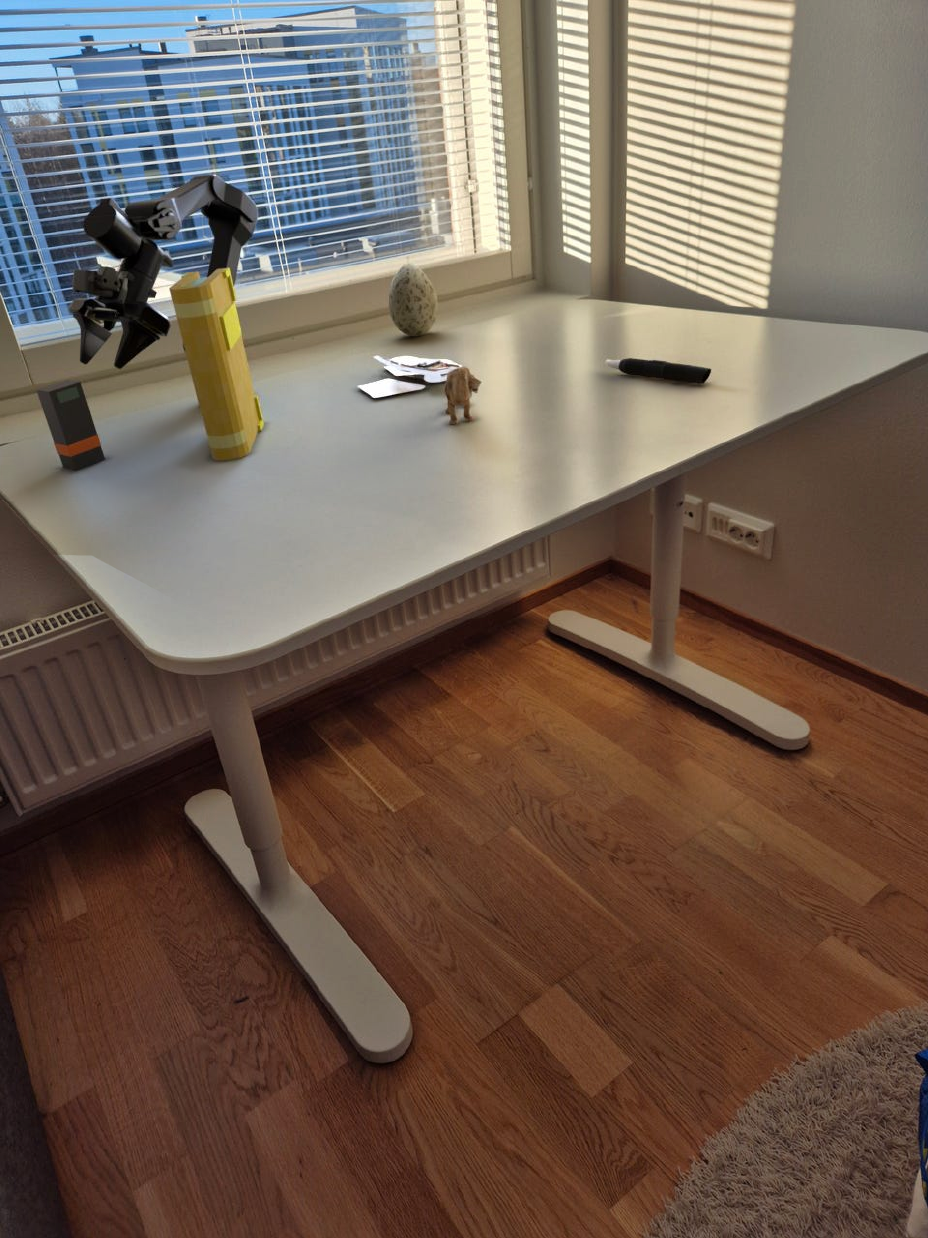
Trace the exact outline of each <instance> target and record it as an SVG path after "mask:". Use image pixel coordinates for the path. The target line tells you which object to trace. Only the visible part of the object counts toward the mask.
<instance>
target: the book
mask: <svg viewBox="0 0 928 1238" xmlns="http://www.w3.org/2000/svg"><path fill="white" fill-rule="evenodd" d="M180 277H181V278H179V280H178V281H176V282H175V283H174V284H173V285H172V286H170V287H169V289H168V290H169V293H170V298H171V300H172V305H173V309H174V312H175V316H176V320H177V324H178V328H179V332H180V337H181V340H182V345H183V344H184V348H185V351H184V353H185V352H186V353H185V355H186V360H187V363H188V367H189V371H190V375H191V379H192V383H193V386H194V391H195V395H196V398H197V402H198V406H199V411H200V415H201V418H202V421H203V425H204V426H203V427H204V430H205V433H206V437H207V441H208V444H209V445H208V446H209V449H210V453H211V456H212V459H213V460H216V461H222V462H223V461H225V462H226V461H232V460H233V461H234V460H237V459H241V458H243V457H245V456H248V455H249V454H250V453H251V451H252V448H253V445H254V443H255V441H256V438H257V436H258V434H259V432H262V430H263V428H264V425H265V422H264V418H263V413H262V408H261V404H260V399H259V396H258V395H256V394H255V390H254V385H253V381H252V377H251V373H250V368H249V367H250V366H249V364H248V359H247V353H246V349H245V346H244V340H243V337H242V333H243V332H242V329H241V324H240V319H239V314H238V309H237V306H236V301H237V296H236V292H235V285H234V286H233V282H232V277H231V272H230V268H221V269H217V270H215V271H214V272H213V273H212V274H211V275H210V276H209V277H207V276H206V277H201V275H200V271H198V270H197V271H196V270H195V271H189V272H185V273H184V274H182V275H181V276H180Z"/></svg>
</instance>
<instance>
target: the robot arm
mask: <svg viewBox="0 0 928 1238" xmlns="http://www.w3.org/2000/svg"><path fill="white" fill-rule="evenodd" d="M198 211H200V213H201V215H203V216H204V217H205V218H206V219H207V221H208V222H207V223H208V227H209V229H210V231H211V233H212V236H213V243H212V247H211V253H210V258H209V263H208V268H207V272H206V273H207V274H206V277H209V276H210V275H211V274H212V273H213V272H214V271H215V270H217V269H221V268H230V272H231V277H232V282H233V286H234V287H235V283H236V278H237V273H238V268H239V263H240V257H241V252H242V248H243V247H244V246H245V245H246V243H247V242H248V241H250V239H251V238H252V237H253V235H254V232H255V230H256V225H257V223H258V219H259V209H258V206H257V204H256V203H255V202H254V201H253V200H252V198H251V197H250V196H249V195H247V193H246V192H245V191H244V190H242V189H240V188H238V187H236V186H233V185H231V184H230V183H228V182H226V181H224V180H223V178H222V177H220V176H219V175H216V174H213V173H212V174H203V175H202V174H201V175H195V176H193V177H191V179H190V180H189V181H187V182H185V183H184V184H182V185H180V186H179V187H176V188H175V189H173V190H171V191H169V192H168V193H166V194H164V195H162V196H161V197H159V198H154V199H147V200H141V201H136V202H135V201H134V202H129V203H128V204H127V205H126V206H125V208H124V209H122V208H121V207H120V206H119V205H118V203H117V201H116V200H114V198H113V197H107V198H106V197H105V198H100V199H99V202H98V205H96V206H95V207H93V208H92V209H91V210H90V211H89V212H88V214H87V215H86V217H84V218H83V224H82V225H83V226H82V227H83V231H84V233H85V234H86V235H87V236H88V237H89V238H90V239H91V240H92V241H93V242H94V243H96V244H97V246H99V247H100V248H102V250H104V251H105V252H106V253H107V254H108V255H110V256H111V257H112V258H113V259H114V260H120V261H119V264H118V266H117V269H116V268H114V267H112V266H106V265H100V266H99V267H98V269H97V270H90V269H73V273H72V274H73V275H72V292H74V293H79V294H80V293H83V294H84V293H85V294H88V295H92V296H95V297H94V299H93V298H89V297H78V298H75V299H72V301H71V304H70V306H69V308H68V311H69V313H71V314H72V318H73V319H74V320H76V321H77V323H78V326H79V328H80V345H79V346H80V348H79V362H80V363H81V364H83V365H88V364H89V363H90V361H91V360H92V359H93V358H94V357H95V356H96V354H97V353H98V352H99V351H100V349H101V348H103V346H104V345H105V344H106V343H107V341H108V340H109V339H110V338H111V336H112V335H113V333H112V332H111V331H112V330H113V329H115V327H116V324H117V323H120V325H121V329H122V334H121V336H120V337H121V338H120V341H119V344H118V348H117V351H116V354H115V356H114V357H115V358H114V362H113V366H114V367H115V368H116V369H118V370H121V369H122V368H124V367H125V366H126V365H128V364H129V363H130V362H131V361H132V360H134V359H135V358H136V357H137V356H138V355H139V354H141V353H142V352H143V351H144V350H146V349H147V348H148V347H150V346H151V345H153V344H154V343H155V342H156V341H160V340H161V337H167V336H168V334H169V331H170V328H171V322H170V318H169V317H168V316H167V315H166V314H164V313H163V312H161V310H159V309H157V308H156V307H154V306H153V305H152V304H150V303H149V302H148V300H149V299H156V296H157V293H158V292H157V291H156V290H154V286H155V284H156V280H157V278H158V276H159V273H160V271H161V268H162V266H163V267H167V268H173V267H174V261H173V258H172V257H171V255H170V250H169V248H165V247H160V246H159V245H158V244H157V243H156V242H155V241H169V240H172V239H174V238H175V236H177V234H179V232H180V231H181V230H182V227H183V223H182V222H184V221H185V219H187V218H188V217H190V216H192V215H194V214H195V213H197V212H198ZM102 304H103V305H102ZM182 348H183V351H184V354H186V352H185V348H184V344H183V343H182Z"/></svg>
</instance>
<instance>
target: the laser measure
mask: <svg viewBox="0 0 928 1238" xmlns="http://www.w3.org/2000/svg"><path fill="white" fill-rule="evenodd" d="M83 388H84V387H83V384H82V382H81V381H78V380H70V379H66V380H63V381H58V382H56V383H53V384H50V385H46V386H43V387H41V388H36V389H35V391H36V393H37V397H38V399H39V402H40V405H41V408H42V411H43V414H44V416H45V420H46V423H47V425H48V428H49V431H50V434H51V437H52V440H53V443H54V447H55V449H56V452H57V455H58V457H59V461H60V463H61V466H62V468H63V469H66V470H71V471H75V472H76V471H78V470H81V469H84V468H87V467H89V466H91V465H94V464H97V463H99V462H102V461H105V460H106V457H105V454H104V451H103V448H102V443H101V440H100V436H99V434H98V432H97V428H96V425H95V422H94V420H93V417H92V413H91V410H90V407H89V404H88V401H87V400H88V399H87V397H86V394H85V391H84V389H83Z"/></svg>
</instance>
